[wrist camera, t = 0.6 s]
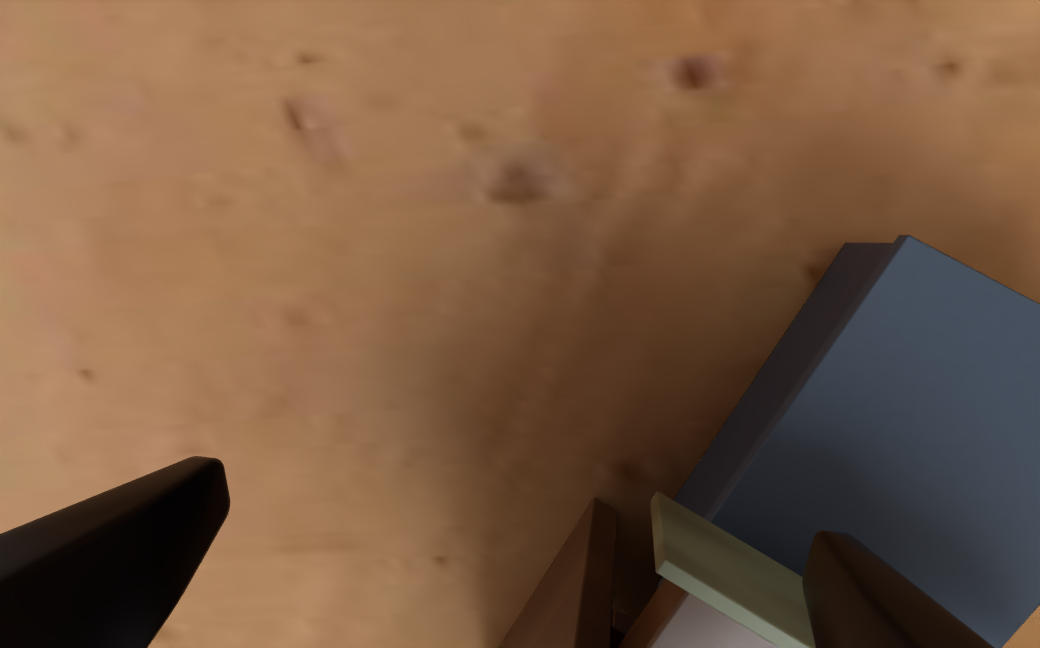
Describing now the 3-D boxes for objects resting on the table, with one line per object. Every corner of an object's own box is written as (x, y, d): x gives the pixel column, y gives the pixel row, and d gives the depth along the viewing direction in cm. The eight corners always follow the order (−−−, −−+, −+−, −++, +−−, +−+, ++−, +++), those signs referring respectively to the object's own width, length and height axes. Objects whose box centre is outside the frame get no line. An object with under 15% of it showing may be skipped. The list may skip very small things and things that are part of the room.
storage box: (1080, 361, 19) (1222, 399, 14) (852, 643, 21) (911, 751, 17) (844, 235, 19) (908, 234, 15) (652, 523, 22) (658, 595, 17)
